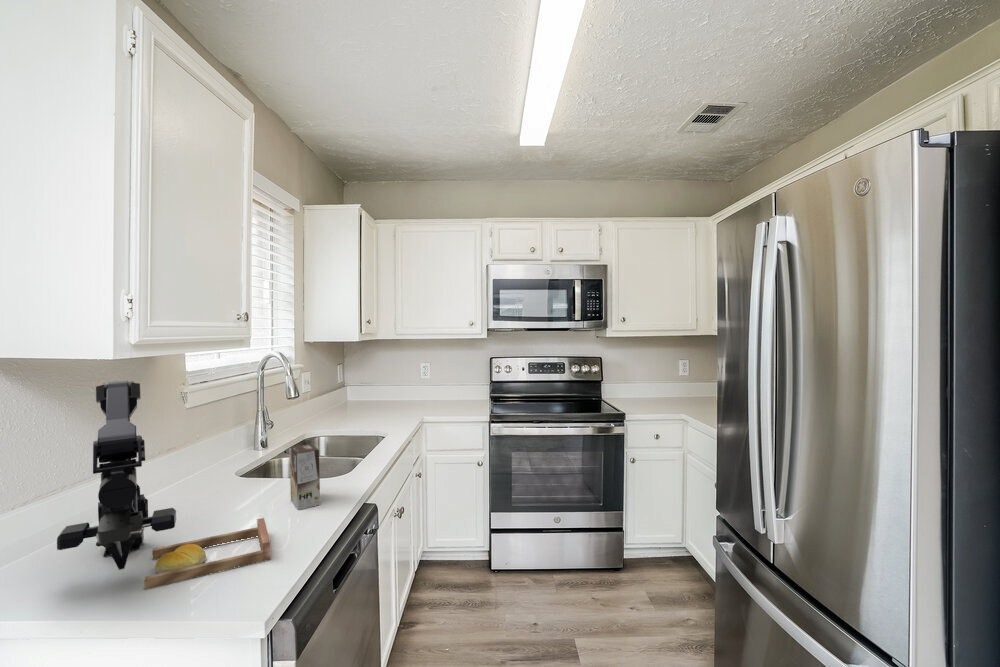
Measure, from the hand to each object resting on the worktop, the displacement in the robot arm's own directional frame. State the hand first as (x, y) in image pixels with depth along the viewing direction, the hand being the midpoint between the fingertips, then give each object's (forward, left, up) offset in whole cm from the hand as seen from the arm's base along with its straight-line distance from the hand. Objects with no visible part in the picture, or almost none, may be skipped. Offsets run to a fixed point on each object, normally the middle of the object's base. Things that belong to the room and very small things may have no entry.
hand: (122, 568), depth 99 cm
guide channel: (+16, 0, -2) cm, 16 cm away
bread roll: (+10, 0, -2) cm, 11 cm away
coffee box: (+39, +24, -2) cm, 46 cm away
